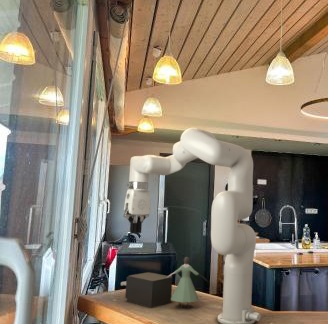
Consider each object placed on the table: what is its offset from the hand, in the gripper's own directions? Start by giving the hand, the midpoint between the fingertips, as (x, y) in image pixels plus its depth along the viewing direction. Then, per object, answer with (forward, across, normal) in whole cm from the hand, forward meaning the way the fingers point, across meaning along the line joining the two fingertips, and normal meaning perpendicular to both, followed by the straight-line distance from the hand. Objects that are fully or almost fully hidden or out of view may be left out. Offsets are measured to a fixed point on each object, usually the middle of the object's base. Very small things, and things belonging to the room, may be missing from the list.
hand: (135, 232), depth 153 cm
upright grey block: (+25, 0, -10) cm, 27 cm away
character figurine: (+25, +4, -26) cm, 36 cm away
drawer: (+24, 0, -5) cm, 25 cm away
